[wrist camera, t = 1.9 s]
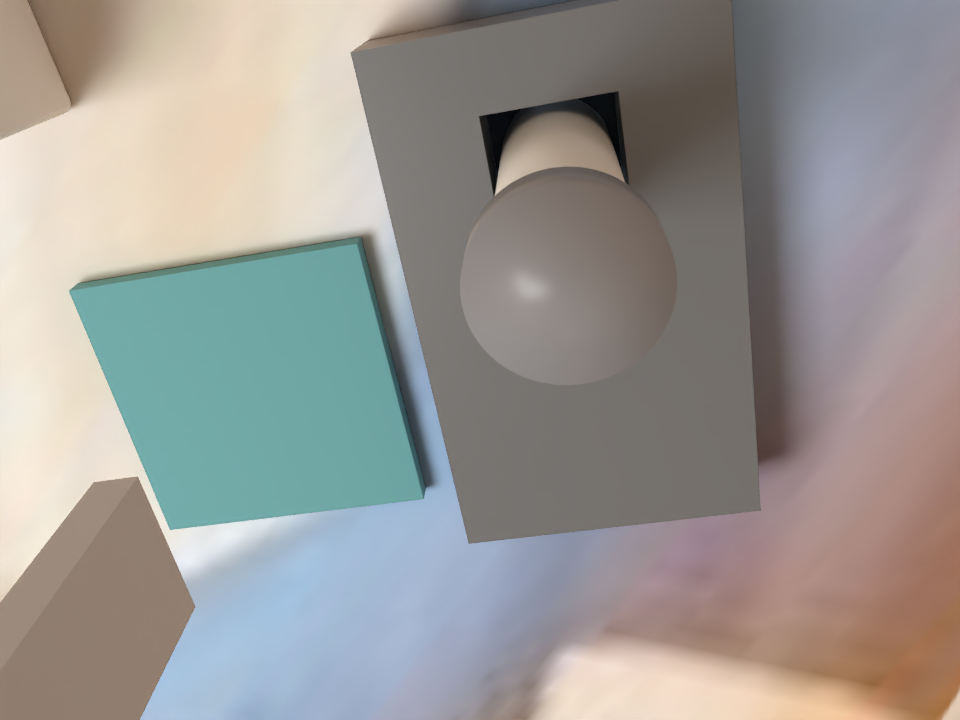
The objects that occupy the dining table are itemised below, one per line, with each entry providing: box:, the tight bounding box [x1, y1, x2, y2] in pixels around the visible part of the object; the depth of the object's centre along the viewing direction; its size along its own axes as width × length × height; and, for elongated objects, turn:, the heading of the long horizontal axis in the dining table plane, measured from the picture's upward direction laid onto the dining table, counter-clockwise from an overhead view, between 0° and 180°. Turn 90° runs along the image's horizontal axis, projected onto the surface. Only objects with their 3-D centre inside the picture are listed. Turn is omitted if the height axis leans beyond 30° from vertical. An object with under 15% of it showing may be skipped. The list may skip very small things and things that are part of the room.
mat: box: [69, 237, 426, 530], centre depth 37 cm, size 12×12×1 cm
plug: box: [460, 99, 677, 385], centre depth 26 cm, size 5×5×14 cm
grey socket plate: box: [351, 0, 761, 544], centre depth 33 cm, size 20×12×3 cm, turn 11°
